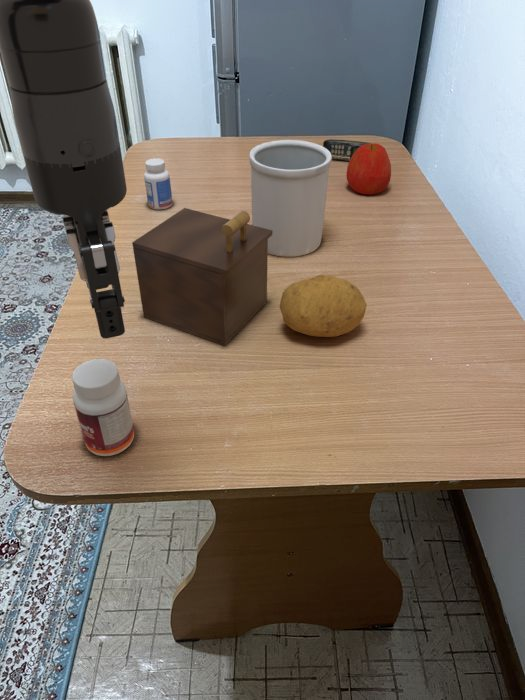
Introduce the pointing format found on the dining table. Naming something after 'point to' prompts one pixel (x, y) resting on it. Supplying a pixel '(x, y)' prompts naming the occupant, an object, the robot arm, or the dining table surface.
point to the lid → (204, 240)
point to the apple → (369, 169)
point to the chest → (202, 294)
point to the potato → (322, 306)
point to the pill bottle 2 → (157, 184)
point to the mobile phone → (342, 148)
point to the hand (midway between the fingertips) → (105, 309)
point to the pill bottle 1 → (102, 407)
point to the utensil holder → (290, 194)
